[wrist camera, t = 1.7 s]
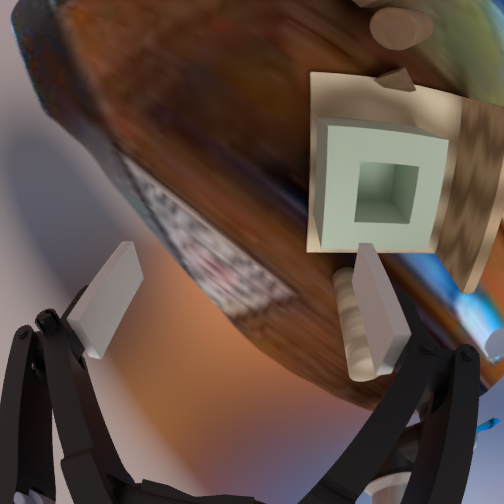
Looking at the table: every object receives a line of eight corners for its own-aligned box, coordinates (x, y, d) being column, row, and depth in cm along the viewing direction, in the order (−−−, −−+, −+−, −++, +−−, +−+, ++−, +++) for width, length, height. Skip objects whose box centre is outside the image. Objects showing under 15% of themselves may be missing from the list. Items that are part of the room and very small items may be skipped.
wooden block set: (317, -28, 20) (265, -32, 16) (372, -59, 13) (331, -80, 9) (398, 93, 27) (370, 120, 23) (460, 76, 20) (454, 99, 16)
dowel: (356, 288, 41) (379, 379, 27) (330, 289, 41) (345, 382, 28) (360, 266, 39) (390, 358, 25) (333, 266, 39) (353, 361, 26)
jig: (442, 249, 36) (473, 293, 28) (306, 248, 38) (312, 299, 30) (469, 99, 24) (520, 113, 16) (309, 72, 26) (323, 66, 18)
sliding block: (404, 220, 33) (426, 249, 27) (314, 217, 34) (321, 248, 28) (418, 127, 27) (448, 140, 21) (317, 116, 28) (328, 125, 22)
